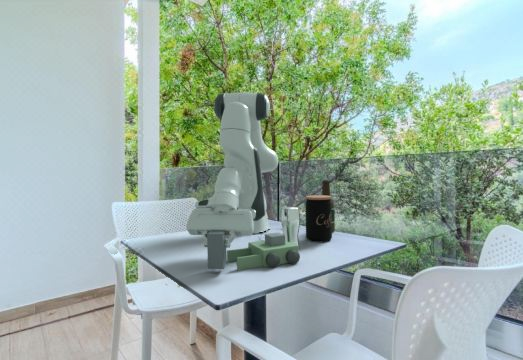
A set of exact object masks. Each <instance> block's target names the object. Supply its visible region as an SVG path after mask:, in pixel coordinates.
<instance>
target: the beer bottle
mask: <svg viewBox="0 0 523 360" xmlns="http://www.w3.org/2000/svg"><path fill="white" fill-rule="evenodd" d="M321 183H322V189H321V190H322V192H321V195H326V196H331V200H330V201H331V203H332V233H334V232H335V230H336V208H335V201H334V200H333V198H332V195H331V188H330V187H331V186H330V183H331V181H330V179H323V180H322V181H321Z"/></svg>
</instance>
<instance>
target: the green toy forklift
mask: <svg viewBox="0 0 523 360" xmlns="http://www.w3.org/2000/svg"><path fill="white" fill-rule="evenodd" d="M247 246H248V247H243V248H237V249H230V250H229V249H228V250H226V255H227V263H232V262H236V270H238V271H243V270H247V269H248V270H249V269H253V268H259V267H263V268H266V267H271V268H277V267H278V266H280V265H284V264H291V265H296V264H298V263H299V262H300V258H301V255H300V253H299V250H298V249H299V248H298V246H297V245H294V244H292V243H289V242H287V241H285V235H284V234H282V233H280V232H274V233H273V232H272V233H264V240H257V241H250V242H248V244H247Z"/></svg>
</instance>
